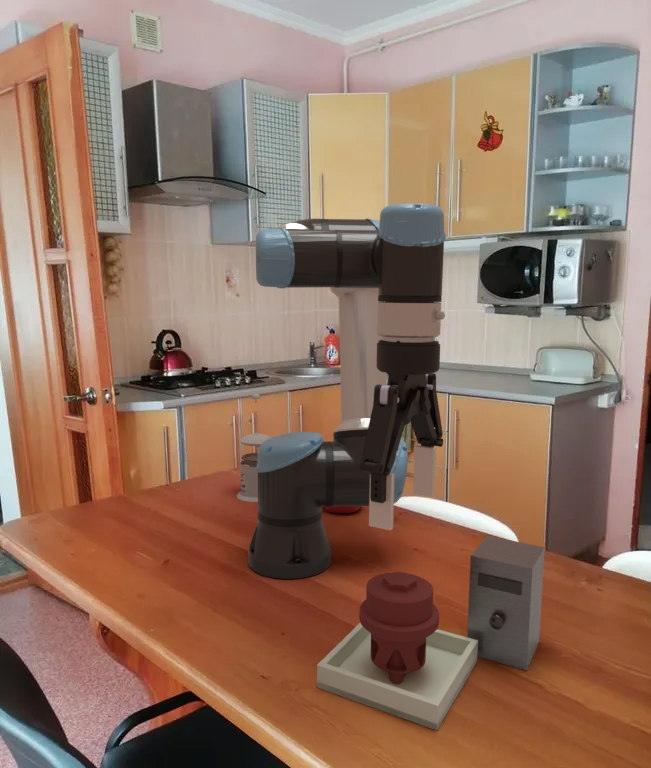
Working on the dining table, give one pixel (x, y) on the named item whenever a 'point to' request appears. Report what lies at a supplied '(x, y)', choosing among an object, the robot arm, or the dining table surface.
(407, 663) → the mechanical component
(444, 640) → the tray
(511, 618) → the unit
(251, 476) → the french press
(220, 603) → the dining table surface
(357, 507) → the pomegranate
